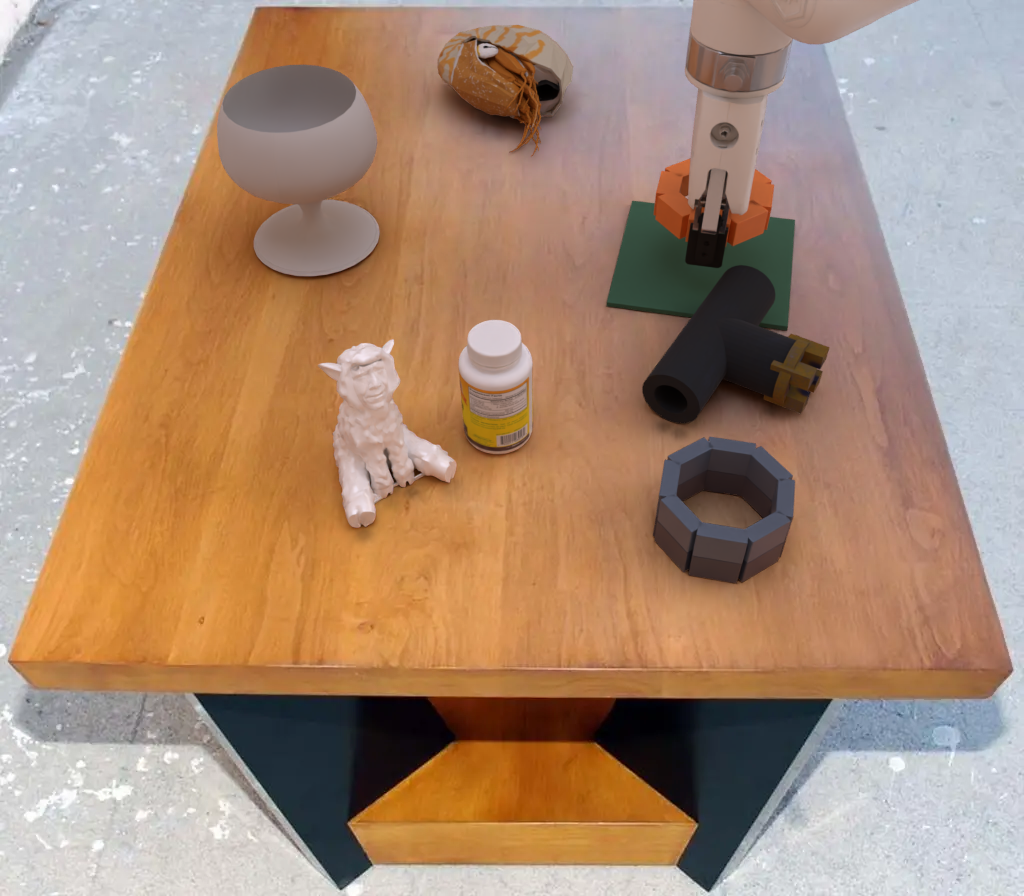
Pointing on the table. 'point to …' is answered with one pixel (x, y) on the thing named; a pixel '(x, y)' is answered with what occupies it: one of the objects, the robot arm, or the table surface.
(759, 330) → the pipe connector
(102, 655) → the table surface
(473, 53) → the nautilus
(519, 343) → the supplement bottle
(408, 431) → the white creature statuette
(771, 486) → the ring stack
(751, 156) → the robot arm
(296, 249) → the chalice
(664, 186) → the orange ring
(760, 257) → the green mat
